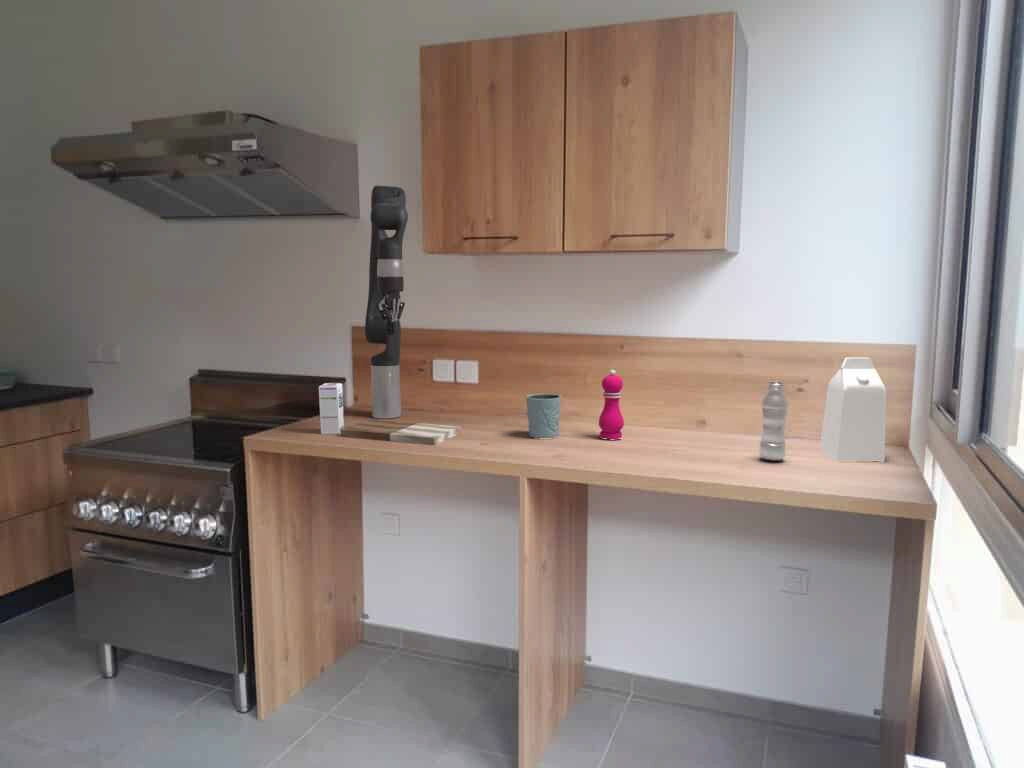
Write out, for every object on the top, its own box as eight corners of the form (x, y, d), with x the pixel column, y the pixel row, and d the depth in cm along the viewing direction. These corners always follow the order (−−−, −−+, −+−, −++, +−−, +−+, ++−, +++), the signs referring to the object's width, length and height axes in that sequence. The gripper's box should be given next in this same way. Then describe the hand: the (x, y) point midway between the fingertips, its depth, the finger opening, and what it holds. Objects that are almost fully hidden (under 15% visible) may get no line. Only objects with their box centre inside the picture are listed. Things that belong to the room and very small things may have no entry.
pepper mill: (604, 441, 213) (606, 371, 210) (594, 436, 220) (595, 368, 217) (627, 440, 216) (629, 370, 213) (616, 435, 222) (618, 367, 219)
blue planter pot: (566, 438, 217) (567, 397, 216) (535, 441, 213) (535, 399, 211) (550, 431, 227) (550, 392, 225) (519, 434, 222) (520, 394, 220)
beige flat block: (418, 429, 229) (418, 423, 228) (460, 433, 224) (460, 426, 223) (390, 440, 213) (389, 433, 213) (434, 445, 208) (434, 438, 208)
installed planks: (371, 425, 234) (371, 419, 234) (417, 429, 229) (417, 422, 228) (340, 436, 219) (340, 429, 218) (389, 440, 213) (388, 433, 213)
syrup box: (339, 434, 221) (338, 385, 219) (319, 434, 221) (318, 385, 219) (344, 430, 227) (343, 382, 225) (325, 430, 227) (323, 382, 225)
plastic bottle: (754, 460, 192) (758, 382, 190) (765, 455, 197) (769, 380, 194) (778, 464, 188) (783, 385, 185) (789, 460, 193) (794, 382, 190)
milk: (864, 451, 203) (871, 355, 199) (884, 462, 191) (892, 360, 188) (819, 451, 203) (825, 355, 199) (836, 461, 192) (843, 360, 188)
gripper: (390, 275, 227) (391, 332, 229) (367, 275, 215) (368, 336, 217) (412, 275, 224) (413, 333, 227) (390, 275, 212) (391, 336, 214)
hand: (391, 334), depth 222 cm, fingers closed
